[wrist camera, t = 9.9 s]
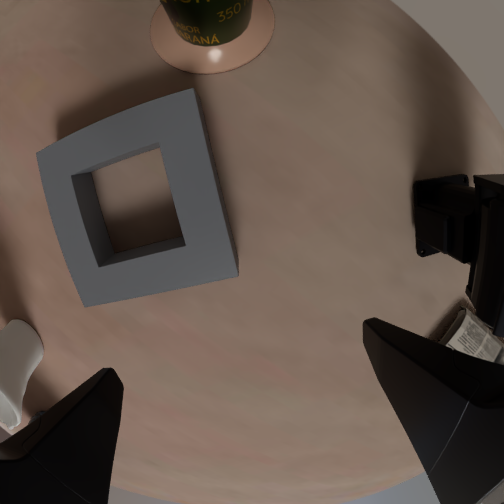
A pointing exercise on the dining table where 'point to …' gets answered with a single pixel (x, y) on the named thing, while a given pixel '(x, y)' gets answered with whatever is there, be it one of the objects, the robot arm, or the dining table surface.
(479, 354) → the newspaper
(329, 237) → the dining table surface
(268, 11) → the coaster
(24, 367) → the cup
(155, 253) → the square frame
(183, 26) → the beer can
